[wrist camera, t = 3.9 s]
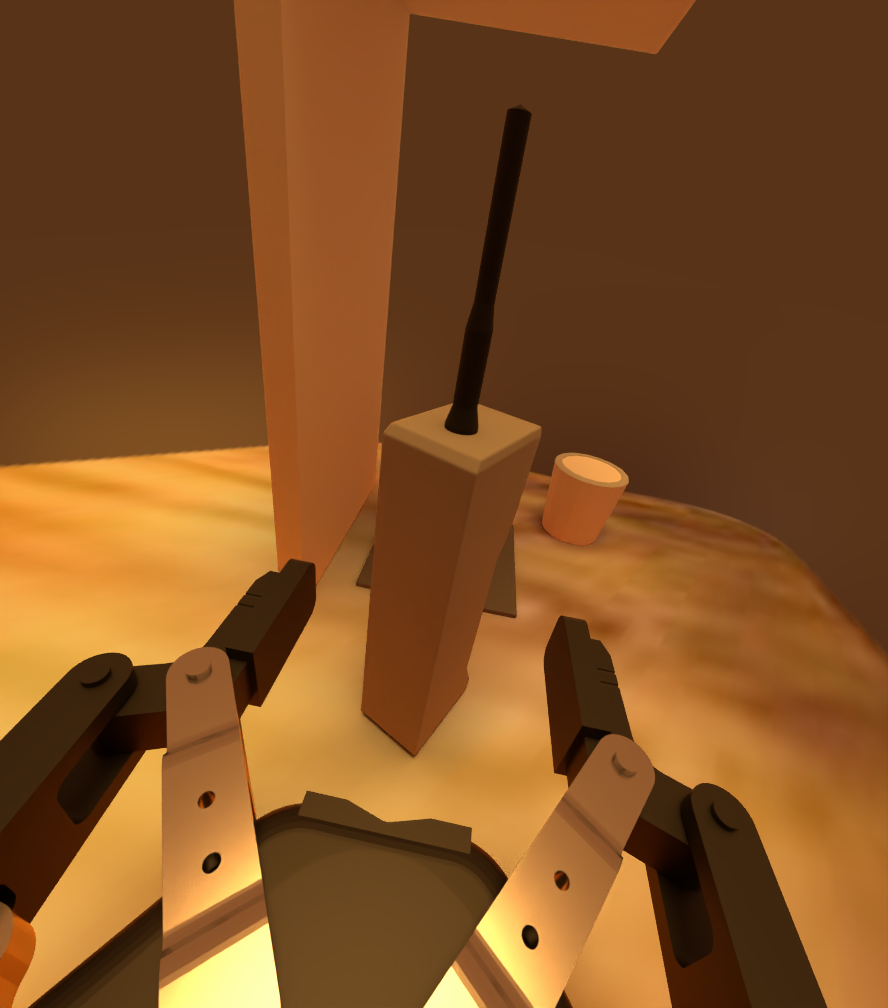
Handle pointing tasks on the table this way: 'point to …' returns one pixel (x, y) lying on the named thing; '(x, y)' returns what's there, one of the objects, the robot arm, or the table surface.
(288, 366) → the overhang shelf
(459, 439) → the vintage mobile phone
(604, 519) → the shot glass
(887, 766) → the table surface
